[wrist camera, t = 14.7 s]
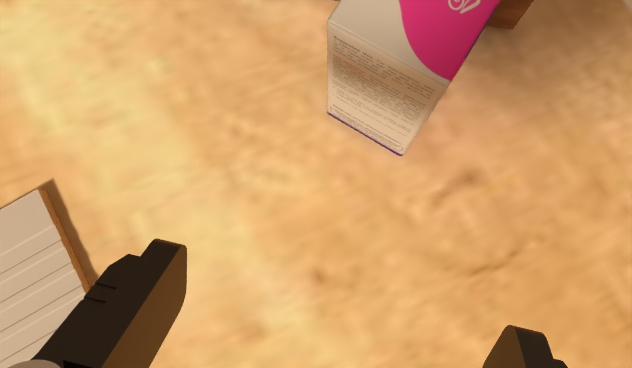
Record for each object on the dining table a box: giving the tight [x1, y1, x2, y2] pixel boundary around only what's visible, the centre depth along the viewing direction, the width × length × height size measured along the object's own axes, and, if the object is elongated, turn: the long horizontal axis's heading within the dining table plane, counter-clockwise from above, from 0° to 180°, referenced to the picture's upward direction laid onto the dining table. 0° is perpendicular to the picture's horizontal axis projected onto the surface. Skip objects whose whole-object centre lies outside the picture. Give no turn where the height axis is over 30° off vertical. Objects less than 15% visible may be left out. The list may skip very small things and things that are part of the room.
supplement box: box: [327, 0, 500, 156], centre depth 24 cm, size 6×6×12 cm
